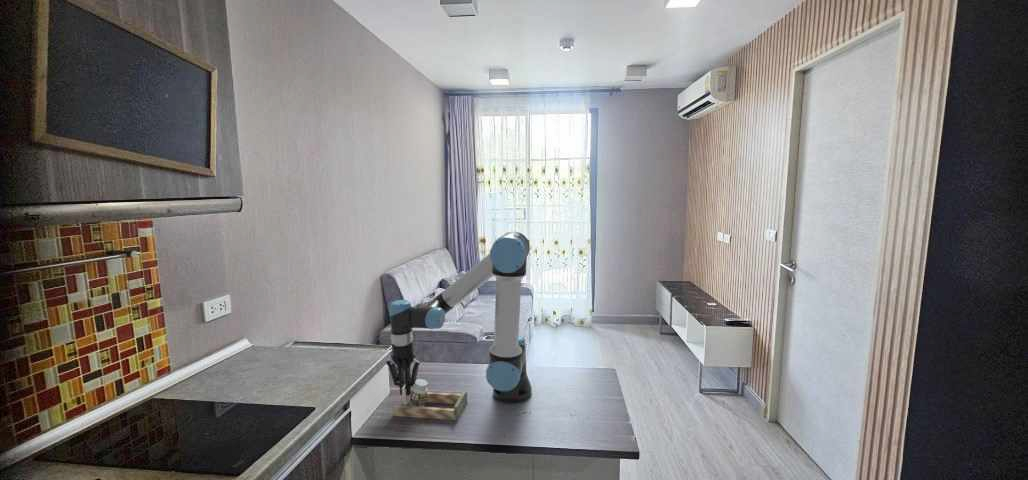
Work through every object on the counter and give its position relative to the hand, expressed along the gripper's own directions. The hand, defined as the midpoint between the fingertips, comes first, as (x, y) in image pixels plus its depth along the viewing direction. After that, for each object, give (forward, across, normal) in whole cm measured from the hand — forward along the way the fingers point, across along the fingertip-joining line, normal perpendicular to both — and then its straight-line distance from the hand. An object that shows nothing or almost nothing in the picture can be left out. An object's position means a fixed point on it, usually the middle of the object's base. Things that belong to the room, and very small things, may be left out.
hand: (406, 402), depth 149 cm
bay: (+2, -10, 0) cm, 10 cm away
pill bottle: (+1, -4, 0) cm, 4 cm away
